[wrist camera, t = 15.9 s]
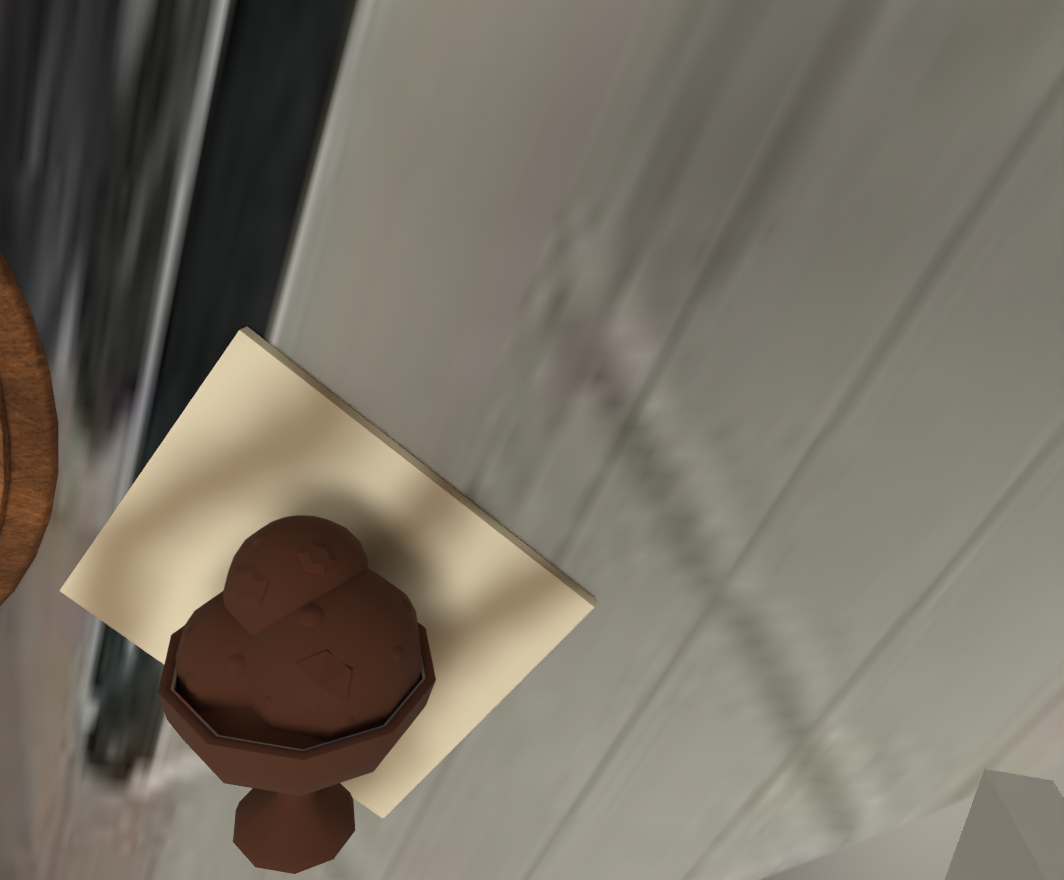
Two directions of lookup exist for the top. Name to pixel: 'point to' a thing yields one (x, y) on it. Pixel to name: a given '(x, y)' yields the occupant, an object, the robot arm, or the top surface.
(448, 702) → the birch pad
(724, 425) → the top surface
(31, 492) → the cutting board
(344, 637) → the chocolate ice cream sundae
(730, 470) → the top surface
